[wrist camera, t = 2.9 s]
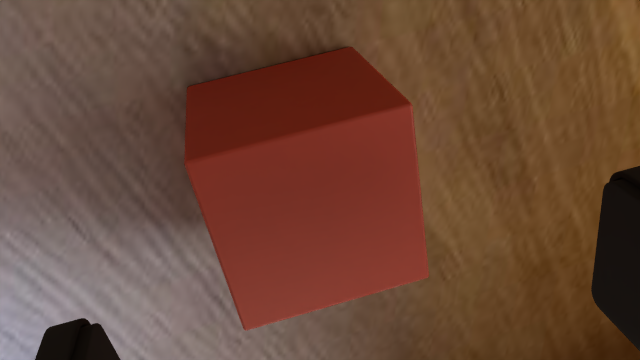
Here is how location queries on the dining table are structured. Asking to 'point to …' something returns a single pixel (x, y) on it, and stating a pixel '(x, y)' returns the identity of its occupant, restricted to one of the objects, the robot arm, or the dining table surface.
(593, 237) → the dining table surface
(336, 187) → the red block
